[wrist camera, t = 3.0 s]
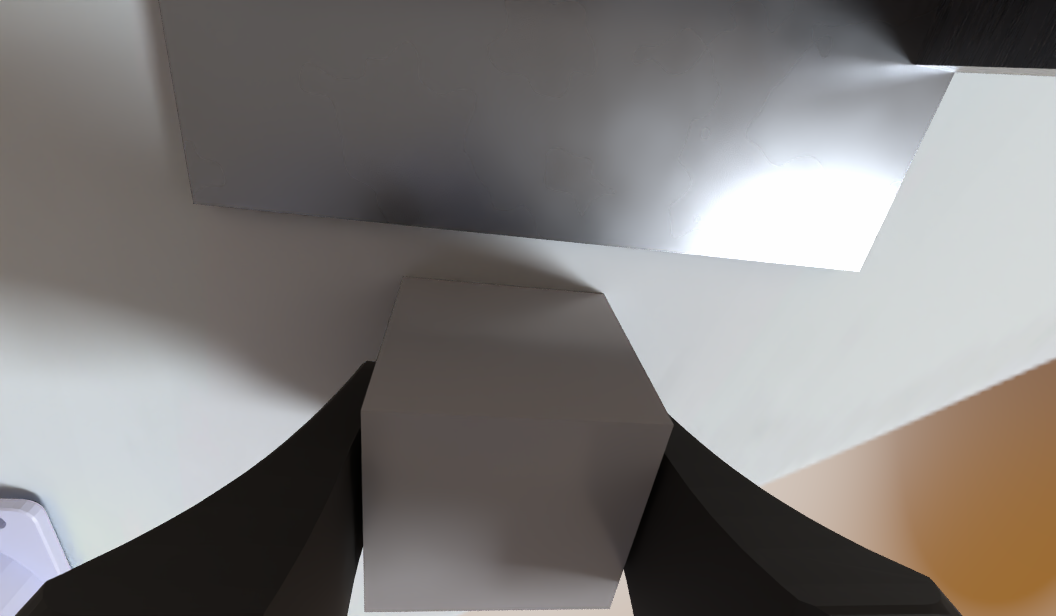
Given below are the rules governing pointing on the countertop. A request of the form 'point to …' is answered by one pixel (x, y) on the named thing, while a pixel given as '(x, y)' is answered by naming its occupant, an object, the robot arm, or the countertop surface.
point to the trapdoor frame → (585, 113)
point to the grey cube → (504, 450)
